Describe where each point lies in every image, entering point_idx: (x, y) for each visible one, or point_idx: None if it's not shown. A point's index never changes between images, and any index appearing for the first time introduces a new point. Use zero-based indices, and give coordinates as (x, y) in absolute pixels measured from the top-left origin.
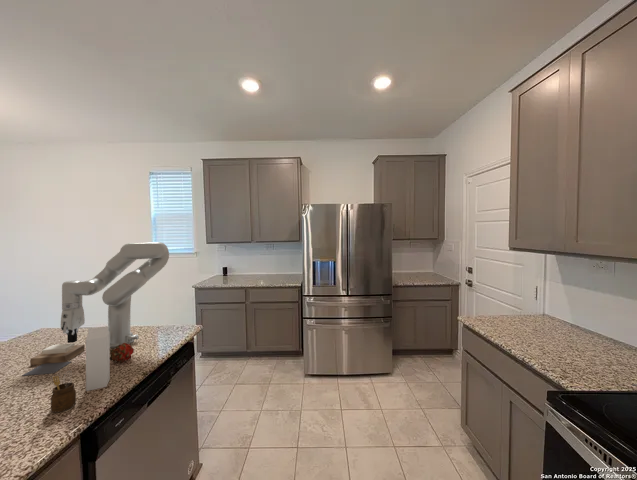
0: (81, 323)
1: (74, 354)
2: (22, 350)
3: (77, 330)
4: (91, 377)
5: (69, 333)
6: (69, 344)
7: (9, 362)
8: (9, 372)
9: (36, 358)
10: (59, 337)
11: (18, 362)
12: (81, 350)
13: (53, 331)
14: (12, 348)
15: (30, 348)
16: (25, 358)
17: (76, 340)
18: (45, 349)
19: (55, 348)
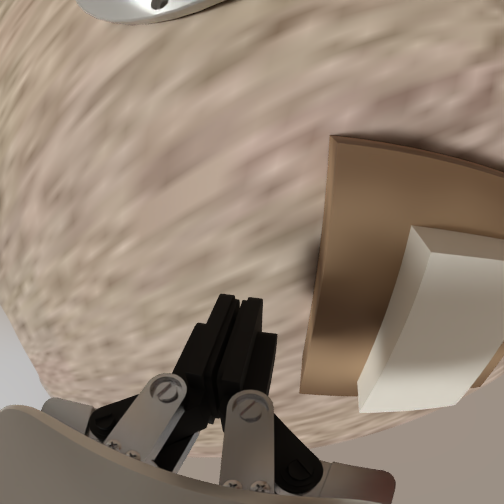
0: (50, 476)
1: (483, 167)
2: (221, 440)
3: (148, 404)
4: None
5: (300, 446)
6: (443, 292)
7: (361, 432)
8: (491, 376)
9: (494, 364)
10: (88, 382)
11: (382, 414)
12: (389, 144)
13: (63, 396)
14: (198, 451)
15: (202, 430)
16: (337, 417)
17: (229, 299)
18: (456, 396)
19: (486, 350)
